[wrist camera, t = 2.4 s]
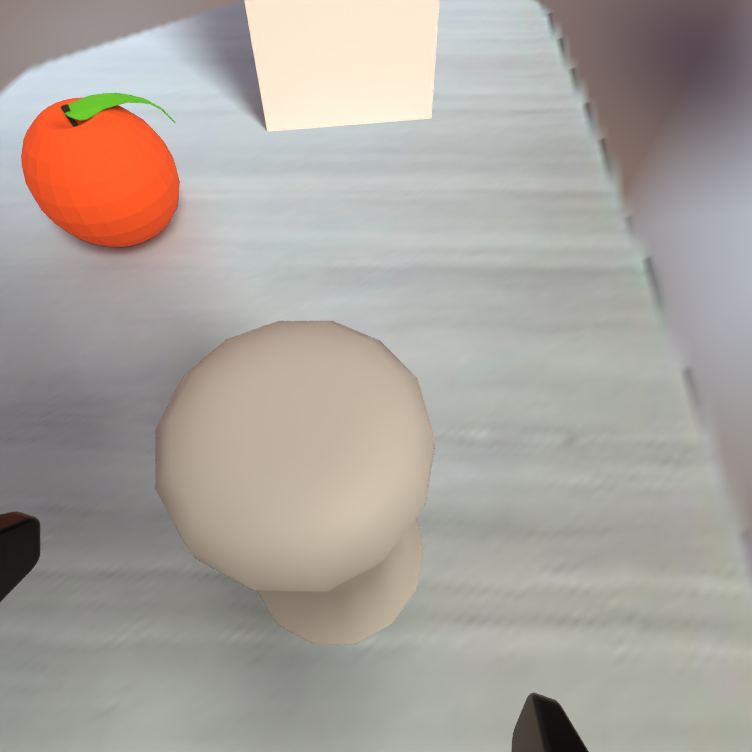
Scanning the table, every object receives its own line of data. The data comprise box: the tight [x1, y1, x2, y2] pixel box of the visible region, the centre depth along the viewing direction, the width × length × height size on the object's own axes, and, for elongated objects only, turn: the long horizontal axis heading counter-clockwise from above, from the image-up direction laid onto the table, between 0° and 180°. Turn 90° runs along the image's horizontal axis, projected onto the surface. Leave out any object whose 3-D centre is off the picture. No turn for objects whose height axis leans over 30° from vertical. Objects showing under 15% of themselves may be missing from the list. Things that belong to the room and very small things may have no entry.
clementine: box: [21, 93, 180, 247], centre depth 23 cm, size 8×7×7 cm
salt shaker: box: [156, 321, 435, 645], centre depth 12 cm, size 6×6×13 cm
